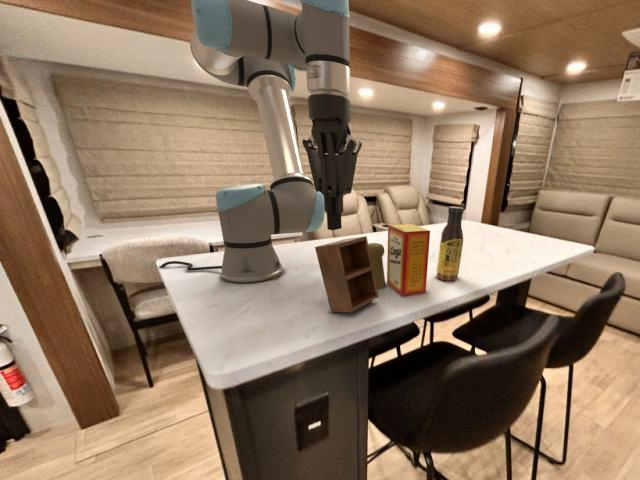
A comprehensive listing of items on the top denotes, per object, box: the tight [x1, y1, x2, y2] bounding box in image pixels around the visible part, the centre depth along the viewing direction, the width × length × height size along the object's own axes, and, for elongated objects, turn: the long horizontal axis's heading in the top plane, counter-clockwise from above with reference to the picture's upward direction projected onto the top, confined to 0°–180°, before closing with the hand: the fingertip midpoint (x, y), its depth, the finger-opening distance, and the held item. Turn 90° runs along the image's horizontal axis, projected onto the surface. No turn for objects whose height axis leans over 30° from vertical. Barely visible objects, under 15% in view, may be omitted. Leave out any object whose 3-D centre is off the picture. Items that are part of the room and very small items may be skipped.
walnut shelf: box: [314, 235, 380, 313], centre depth 67 cm, size 14×10×6 cm
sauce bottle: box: [436, 206, 465, 282], centre depth 85 cm, size 6×6×20 cm
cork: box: [368, 242, 386, 290], centre depth 80 cm, size 6×6×11 cm
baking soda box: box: [386, 223, 431, 297], centre depth 78 cm, size 10×6×16 cm
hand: (334, 228), depth 65 cm, fingers closed
